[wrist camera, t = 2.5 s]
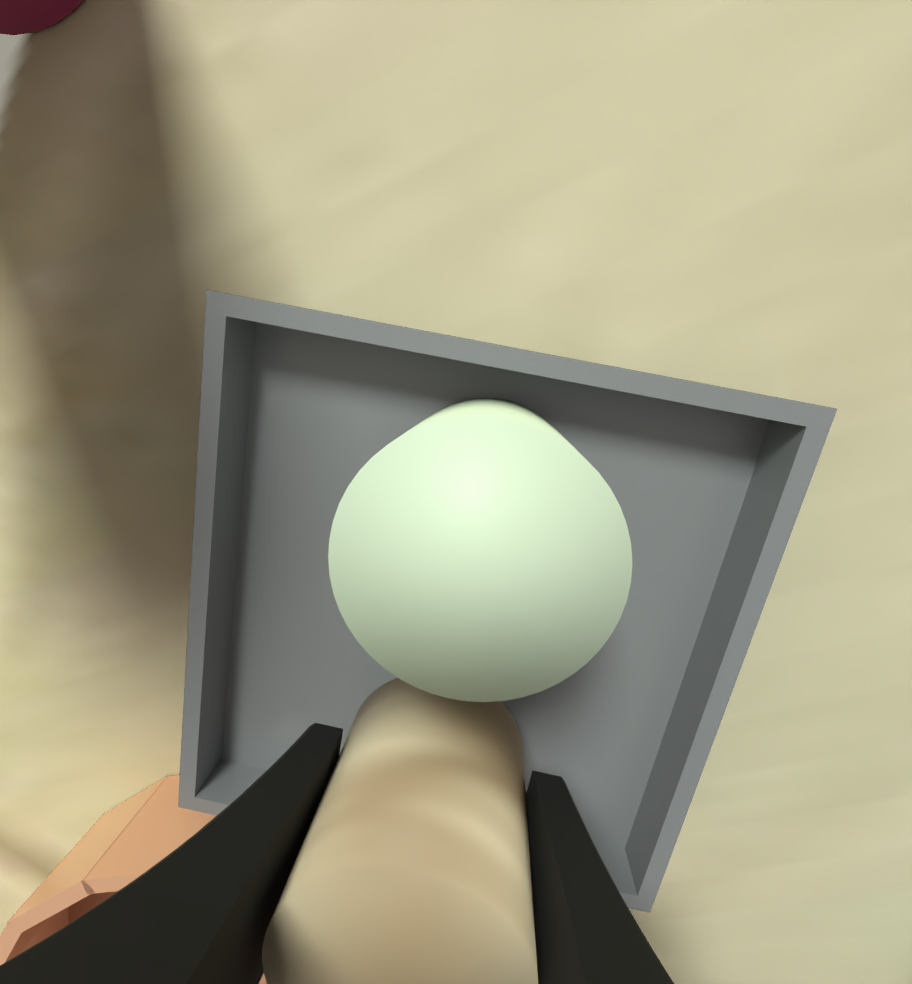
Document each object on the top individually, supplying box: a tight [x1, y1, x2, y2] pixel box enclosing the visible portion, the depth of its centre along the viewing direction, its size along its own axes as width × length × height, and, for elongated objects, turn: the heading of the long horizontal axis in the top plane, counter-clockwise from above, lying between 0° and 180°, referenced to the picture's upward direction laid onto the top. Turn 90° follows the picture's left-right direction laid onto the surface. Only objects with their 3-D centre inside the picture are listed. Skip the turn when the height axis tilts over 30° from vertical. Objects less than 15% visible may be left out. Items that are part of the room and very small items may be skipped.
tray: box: [178, 290, 837, 912], centre depth 11 cm, size 12×12×2 cm
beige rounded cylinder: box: [262, 678, 538, 984], centre depth 9 cm, size 4×4×4 cm
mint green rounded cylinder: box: [328, 398, 632, 702], centre depth 9 cm, size 4×4×4 cm
